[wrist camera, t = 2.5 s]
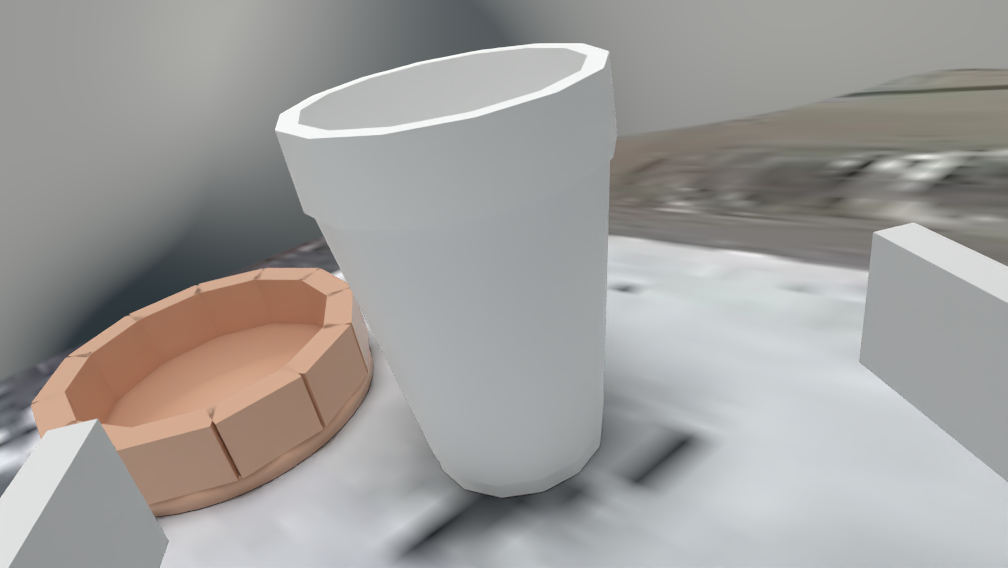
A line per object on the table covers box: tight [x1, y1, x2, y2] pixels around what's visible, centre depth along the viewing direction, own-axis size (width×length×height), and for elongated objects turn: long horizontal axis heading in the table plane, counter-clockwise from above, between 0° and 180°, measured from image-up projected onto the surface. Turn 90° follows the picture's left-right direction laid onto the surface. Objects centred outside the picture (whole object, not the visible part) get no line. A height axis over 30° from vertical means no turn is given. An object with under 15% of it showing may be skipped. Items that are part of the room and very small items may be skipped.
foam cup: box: [275, 43, 617, 498], centre depth 21 cm, size 10×9×13 cm
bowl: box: [31, 268, 373, 516], centre depth 29 cm, size 13×13×3 cm
